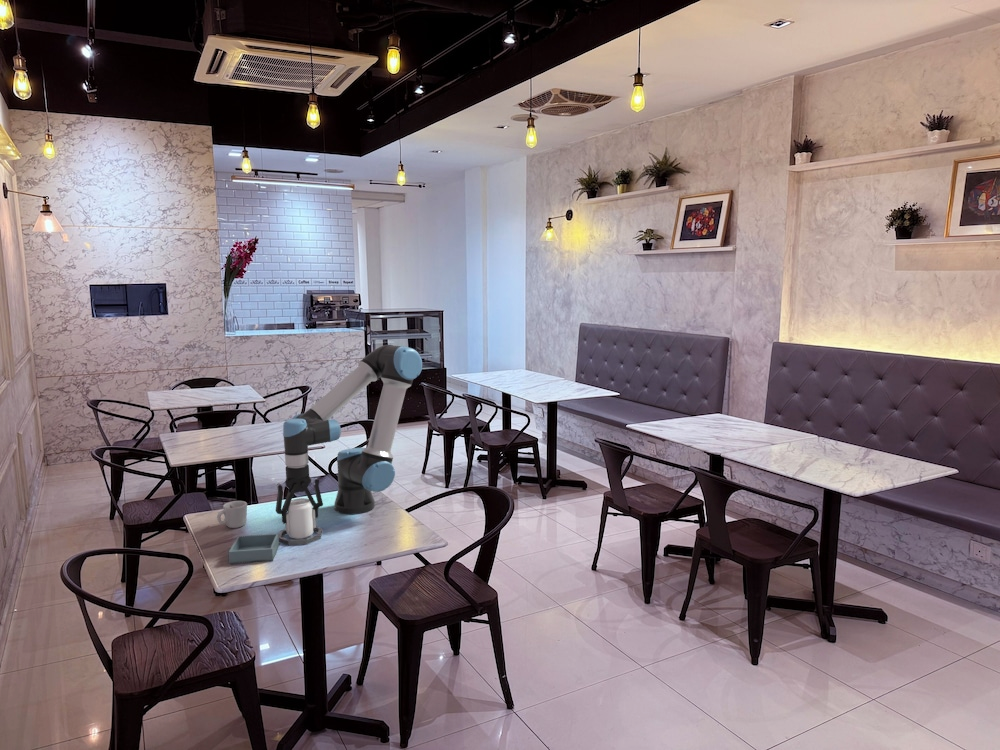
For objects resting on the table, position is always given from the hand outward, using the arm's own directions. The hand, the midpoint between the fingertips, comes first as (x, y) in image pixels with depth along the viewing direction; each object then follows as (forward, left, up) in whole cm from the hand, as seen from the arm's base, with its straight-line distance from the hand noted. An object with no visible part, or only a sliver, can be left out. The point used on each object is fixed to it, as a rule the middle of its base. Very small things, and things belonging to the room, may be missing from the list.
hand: (300, 529), depth 228 cm
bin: (+13, +13, -3) cm, 18 cm away
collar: (0, 0, -3) cm, 3 cm away
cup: (+25, -14, -3) cm, 29 cm away
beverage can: (0, 0, -2) cm, 2 cm away
